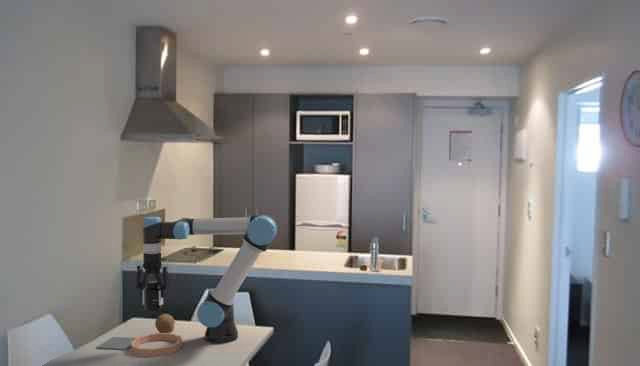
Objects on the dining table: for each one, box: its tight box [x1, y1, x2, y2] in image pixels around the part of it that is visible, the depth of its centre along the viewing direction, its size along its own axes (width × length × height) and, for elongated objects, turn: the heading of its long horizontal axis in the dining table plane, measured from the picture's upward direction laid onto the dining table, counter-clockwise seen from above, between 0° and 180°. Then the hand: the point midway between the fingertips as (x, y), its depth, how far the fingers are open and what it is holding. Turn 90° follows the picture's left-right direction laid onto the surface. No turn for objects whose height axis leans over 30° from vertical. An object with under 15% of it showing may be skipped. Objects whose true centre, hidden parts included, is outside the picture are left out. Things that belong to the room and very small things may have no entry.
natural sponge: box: [154, 313, 176, 333], centre depth 255 cm, size 9×9×10 cm
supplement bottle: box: [144, 280, 162, 312], centre depth 237 cm, size 7×7×12 cm
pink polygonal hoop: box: [131, 332, 183, 357], centre depth 237 cm, size 21×21×3 cm
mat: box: [95, 336, 137, 351], centre depth 242 cm, size 14×14×1 cm
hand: (152, 304), depth 237 cm, fingers closed on supplement bottle, 7 cm apart
